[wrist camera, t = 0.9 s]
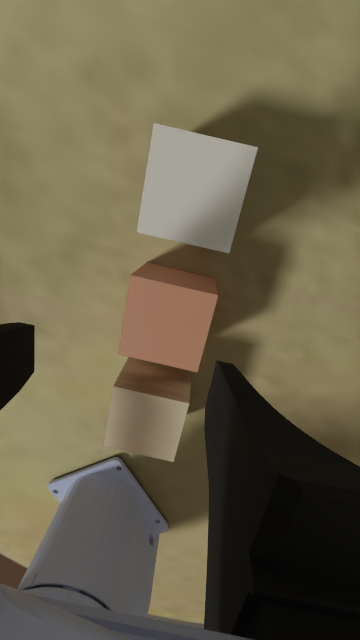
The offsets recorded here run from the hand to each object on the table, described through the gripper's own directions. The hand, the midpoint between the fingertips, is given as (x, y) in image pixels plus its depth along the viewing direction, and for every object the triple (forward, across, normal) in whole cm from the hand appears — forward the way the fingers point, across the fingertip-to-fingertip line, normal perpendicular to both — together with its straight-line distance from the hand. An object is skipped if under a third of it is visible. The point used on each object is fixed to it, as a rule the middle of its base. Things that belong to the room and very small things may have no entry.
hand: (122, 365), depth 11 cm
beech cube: (+10, -1, +7) cm, 12 cm away
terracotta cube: (+10, -1, 0) cm, 10 cm away
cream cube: (+10, -1, -7) cm, 12 cm away
